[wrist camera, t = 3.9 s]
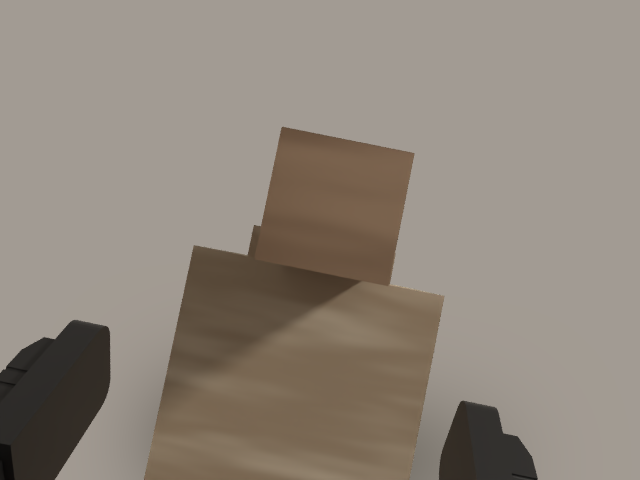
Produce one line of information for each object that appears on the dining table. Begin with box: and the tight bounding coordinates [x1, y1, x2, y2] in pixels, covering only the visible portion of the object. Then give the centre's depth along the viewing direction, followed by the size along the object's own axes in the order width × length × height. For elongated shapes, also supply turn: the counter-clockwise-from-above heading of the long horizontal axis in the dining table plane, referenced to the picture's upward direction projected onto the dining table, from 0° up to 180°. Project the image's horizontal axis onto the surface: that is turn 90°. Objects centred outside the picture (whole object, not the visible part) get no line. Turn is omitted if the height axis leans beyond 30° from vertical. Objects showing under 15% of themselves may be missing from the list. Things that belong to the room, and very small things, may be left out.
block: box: [254, 127, 414, 286], centre depth 29 cm, size 24×4×4 cm, turn 0°
